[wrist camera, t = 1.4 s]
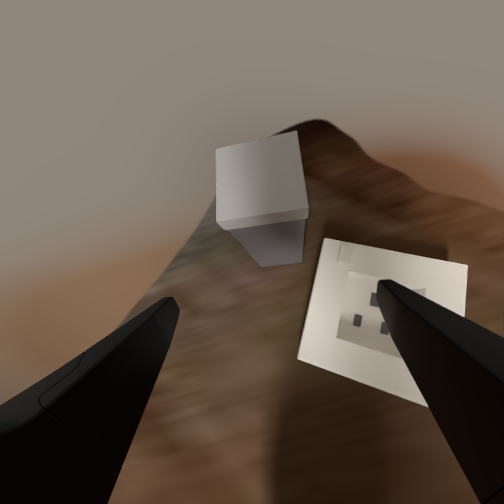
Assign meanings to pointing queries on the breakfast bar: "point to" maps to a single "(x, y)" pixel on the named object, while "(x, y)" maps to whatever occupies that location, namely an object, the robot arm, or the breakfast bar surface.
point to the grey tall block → (263, 197)
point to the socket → (370, 312)
